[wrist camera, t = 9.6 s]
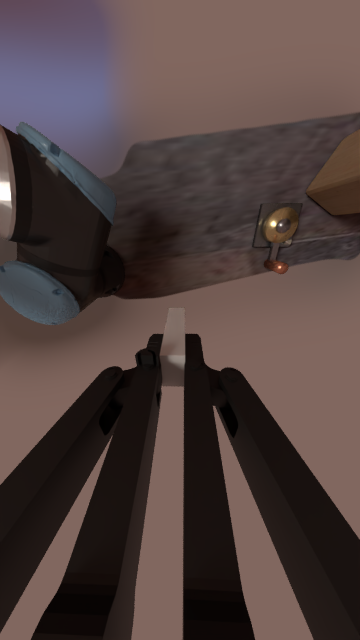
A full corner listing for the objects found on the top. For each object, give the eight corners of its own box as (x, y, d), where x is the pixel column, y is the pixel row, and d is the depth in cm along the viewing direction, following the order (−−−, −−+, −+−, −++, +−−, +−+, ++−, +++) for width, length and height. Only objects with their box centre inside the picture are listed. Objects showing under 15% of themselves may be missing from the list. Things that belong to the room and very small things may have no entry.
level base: (252, 246, 41) (255, 247, 39) (260, 204, 37) (265, 202, 35) (286, 246, 41) (292, 247, 39) (299, 203, 36) (306, 202, 34)
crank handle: (280, 267, 42) (296, 273, 36) (254, 268, 43) (265, 274, 36) (297, 207, 36) (320, 203, 30) (265, 209, 36) (282, 204, 30)
